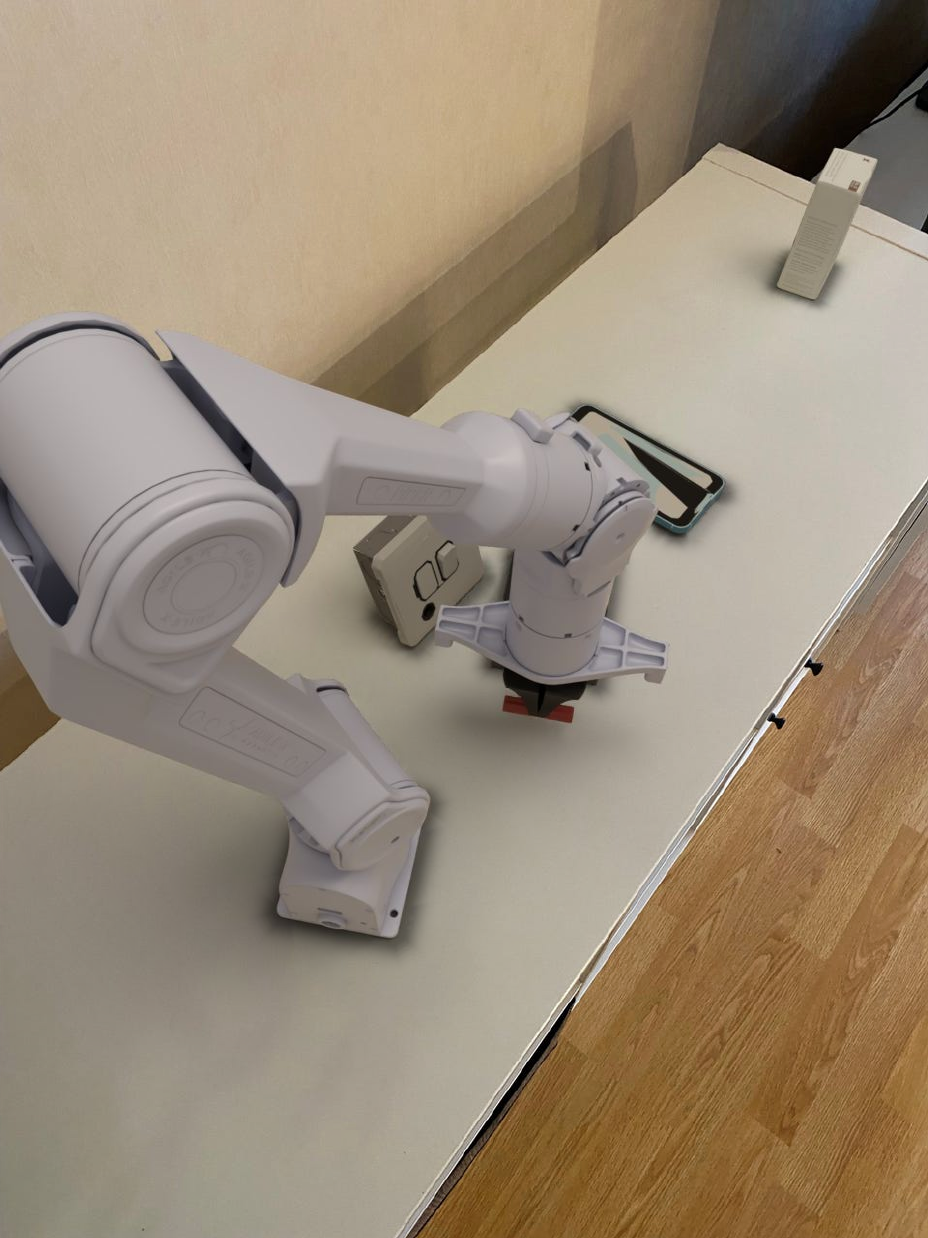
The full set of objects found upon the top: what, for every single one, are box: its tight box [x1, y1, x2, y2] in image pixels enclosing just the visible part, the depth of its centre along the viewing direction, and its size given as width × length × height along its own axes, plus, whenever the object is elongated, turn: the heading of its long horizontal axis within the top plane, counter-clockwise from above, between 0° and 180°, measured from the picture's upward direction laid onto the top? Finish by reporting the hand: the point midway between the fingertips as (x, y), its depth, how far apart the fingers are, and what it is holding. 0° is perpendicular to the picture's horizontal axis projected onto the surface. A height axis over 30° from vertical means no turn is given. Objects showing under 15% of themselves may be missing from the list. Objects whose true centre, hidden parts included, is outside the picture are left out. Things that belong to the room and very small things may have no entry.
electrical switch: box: [352, 516, 485, 647], centre depth 72 cm, size 9×5×9 cm, turn 141°
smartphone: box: [570, 403, 726, 534], centre depth 83 cm, size 7×1×15 cm
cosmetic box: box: [776, 147, 878, 300], centre depth 92 cm, size 6×4×12 cm
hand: (539, 704), depth 68 cm, fingers closed, pressing on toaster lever
